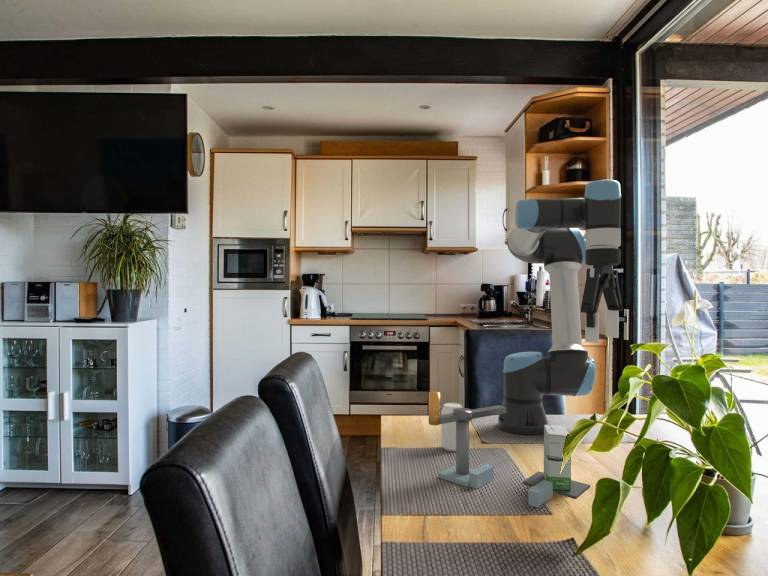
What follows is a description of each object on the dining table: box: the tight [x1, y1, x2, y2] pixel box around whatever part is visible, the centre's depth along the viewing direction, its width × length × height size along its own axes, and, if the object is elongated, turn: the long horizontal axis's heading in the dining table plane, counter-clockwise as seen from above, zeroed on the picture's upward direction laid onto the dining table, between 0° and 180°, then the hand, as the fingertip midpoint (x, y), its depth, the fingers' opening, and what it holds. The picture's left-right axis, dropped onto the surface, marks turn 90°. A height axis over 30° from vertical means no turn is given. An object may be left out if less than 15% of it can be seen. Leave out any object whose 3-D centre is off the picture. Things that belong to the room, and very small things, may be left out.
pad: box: [522, 471, 591, 499], centre depth 110 cm, size 8×12×1 cm, turn 48°
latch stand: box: [437, 421, 554, 508], centre depth 110 cm, size 8×24×13 cm, turn 48°
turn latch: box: [428, 390, 506, 426], centre depth 116 cm, size 4×22×7 cm, turn 120°
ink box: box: [543, 424, 572, 490], centre depth 111 cm, size 9×5×12 cm, turn 168°
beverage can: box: [440, 402, 463, 452], centre depth 135 cm, size 6×6×12 cm
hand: (602, 339), depth 115 cm, fingers open, 13 cm apart
